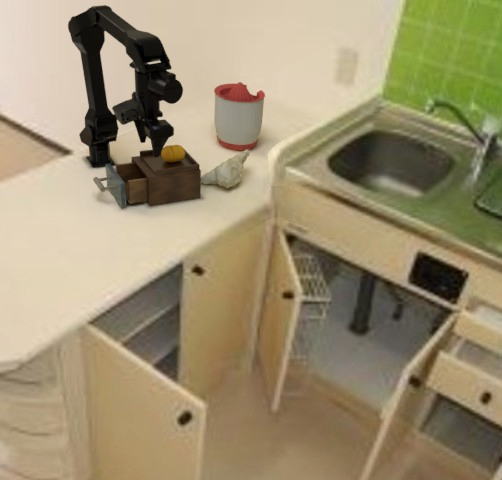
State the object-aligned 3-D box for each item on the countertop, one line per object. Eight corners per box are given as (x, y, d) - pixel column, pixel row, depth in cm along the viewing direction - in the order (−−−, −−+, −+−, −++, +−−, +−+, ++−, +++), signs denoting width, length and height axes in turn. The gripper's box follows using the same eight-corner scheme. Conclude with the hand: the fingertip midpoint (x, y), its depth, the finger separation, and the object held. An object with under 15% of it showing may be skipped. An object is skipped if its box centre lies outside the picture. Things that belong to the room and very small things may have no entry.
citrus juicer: (273, 143, 212) (279, 82, 200) (241, 158, 200) (244, 95, 188) (236, 128, 218) (239, 69, 206) (202, 142, 205) (203, 80, 193)
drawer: (104, 209, 163) (102, 186, 159) (91, 189, 171) (88, 166, 167) (171, 199, 172) (170, 176, 168) (155, 180, 179) (154, 157, 175)
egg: (164, 166, 170) (165, 152, 167) (158, 157, 172) (158, 143, 169) (187, 163, 173) (188, 149, 170) (180, 155, 175) (181, 140, 172)
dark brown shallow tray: (156, 176, 165) (156, 170, 164) (139, 156, 173) (139, 150, 172) (199, 170, 171) (199, 164, 170) (181, 151, 179) (181, 145, 178)
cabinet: (149, 206, 169) (148, 177, 164) (132, 185, 177) (131, 156, 172) (200, 198, 176) (200, 170, 171) (182, 177, 184) (182, 150, 179)
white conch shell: (210, 203, 179) (254, 173, 176) (194, 180, 177) (239, 150, 174) (220, 194, 193) (261, 167, 190) (206, 173, 191) (247, 145, 188)
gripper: (102, 79, 159) (106, 138, 169) (128, 107, 148) (132, 169, 157) (145, 76, 165) (147, 134, 174) (174, 102, 153) (174, 163, 163)
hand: (149, 149), depth 167 cm, fingers open, 9 cm apart
